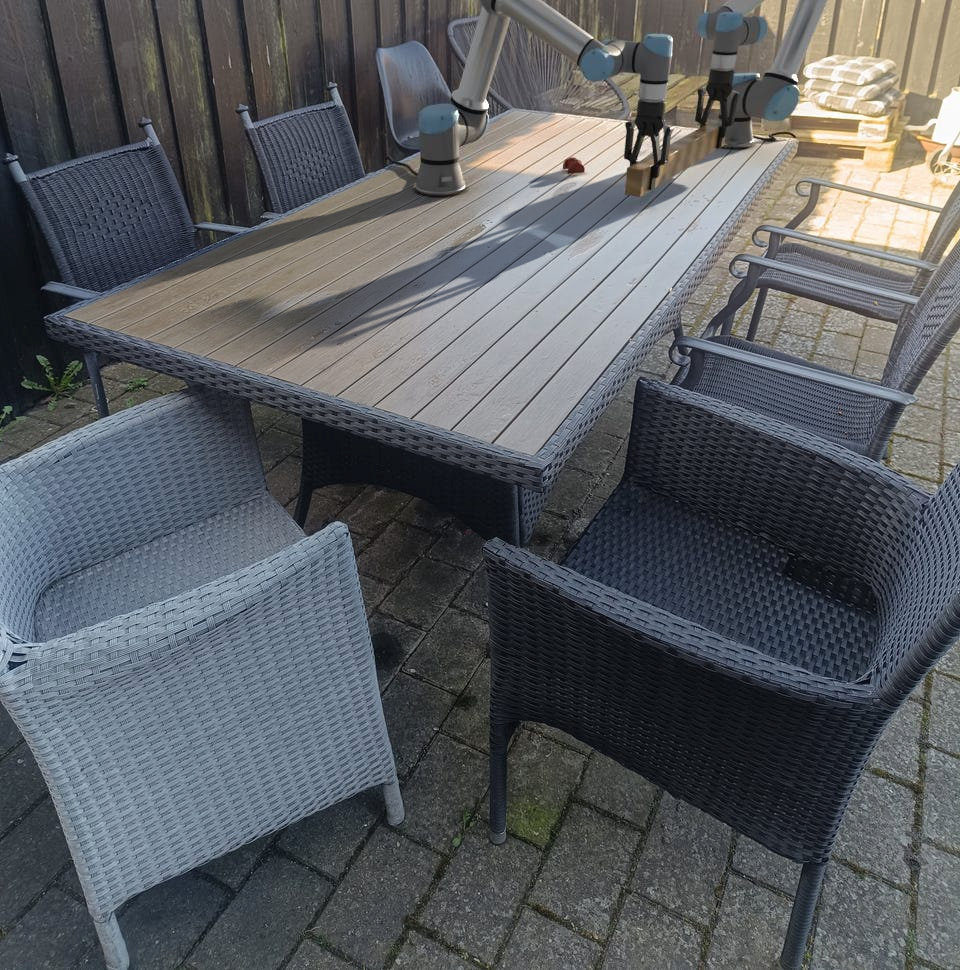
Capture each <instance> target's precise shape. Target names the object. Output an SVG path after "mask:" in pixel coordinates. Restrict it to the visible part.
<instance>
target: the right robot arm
mask: <svg viewBox="0 0 960 970" xmlns="http://www.w3.org/2000/svg"><path fill="white" fill-rule="evenodd" d="M765 1H766V0H727V1H726V2H724V4H722V5H721V6H720V7H719V8H718V9H716V10H715V11H714V12H713V11H706V12H703V13H701V14H700V16H699V18H698V19H697V23H696V32H697V35H698V37H700V38H703V39H706V40H709V41H710V40H711V41H712V40H713V49H712V53H711V58H710V59H711V60H710V69H709V73H708V79H707V84H706V86H705V87H699V88H698V89H697V90H696V91H697V97H698V98H697V103H696V110H695V117H694V122H696V123H699V128H701V127H703V126H705V125H706V124H707V122H708V118H709V115H710V114H711V110H712V107H713V105H714V103H715V102H718V103H719V110H718V117H717V121H722V126H721V127H719V133H718V140H717V146H716V148H717V150H719V149H721V148H722V149H723V148H724V149H730V150H731V149H732V150H739V149H740V150H741V149H748V148H751V147H753V145H754V140H755V139H756V140H759V141H764V142H775V141H777V137H775V136H779V135H789V136H791V137H793V139H797V136H796V134H794V133H793V132H790V131H777V132H774V133H769V134H768V138H767V137H761V136H757V135H754V134H753V123H752V122H753V118H756V119H762V120H765V121H766V120H767V121H768V122H783V121H785V120H786V119H788V118H789V117H790V116H791V115H792V114H793V113H794V111H795V110H796V108H797V106H798V104H799V101H800V94H801V93H800V89H799V88H798V85H799V80H798V77H797V75H798V73H799V70H800V68H801V66H802V63H803V61H804V59H805V56H806V53H807V52H808V49H809V47H810V44H811V42H812V39H813V36H814V34H815V32H816V29H817V27H818V24H819V22H820V20H821V17H822V15H823V12H824V10H825V8H826V5H827V2H828V0H798V2H797V4H796V7H795V9H794V11H793V14H792V17H791V20H790V22H789V23H788V27H787V29H786V30H785V31H786V32H785V33H784V36H783V38H782V41H781V44H780V46H779V48H778V50H777V54H776V56H775V59H774V61H773V64H772V66H771V68H770V69H768V70H766V71H765V72H764V74H763V77H762V79H761V75H760V73H758V72H741V73H735V70H734V69H735V68H736V64H737V57H738V50H739V46H740V47H741V46H747V45H754V44H757V43H761V42H762V41H763V40H764V39H765V37H766V35H767V32H768V24H767V21H766V20H765V18H763V17H762V16H755V15H753V16H749V15H750V14H751V13H752V12H753V11H754V10H756V9H757V8H758V7H759V6H760V5H762V4H763V3H764V2H765ZM706 93H707V95H708V98H707V102H706V106H705V108H704V104H705V103H704V102H705V95H706ZM703 109H704V111H703ZM725 136H726V138H725V144H724V146H722V147H721V145H722V139H723V138H724V137H725Z"/></svg>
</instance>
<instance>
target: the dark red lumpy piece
mask: <svg viewBox="0 0 960 970" xmlns="http://www.w3.org/2000/svg"><path fill="white" fill-rule="evenodd" d="M562 170H567V171H566V172H567V174H568V175H570V174H571V175H572V174H584V173H585V171H586V169H585V165H584V164H583V162H582V160H580V159H578V158H577V157H575V156H570V157H568V158H566V159H564V161H563V164H562Z"/></svg>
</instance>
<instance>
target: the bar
mask: <svg viewBox="0 0 960 970" xmlns="http://www.w3.org/2000/svg"><path fill="white" fill-rule="evenodd" d="M705 124H706V125H705V126H703V127H701V128H700V127H699V128H697V129H695V130H694V131H692V132H690V133H688V134H686V135H684V136H683V137H681V138H679V139H677V140H675V141H674V142H672V143H670V148H669V156H668V162H667V163H666V164H664V165H661V166H660V175H659V177H658V178H656V182H655V188H654V189H656V188H658V187H659V186H660V185H662V184H664V183H665V182H667V181H669V180H671V179H672V178H674V177H676V176H677V175H679V174H680V173H682V172H683V171H685V170H687V169H688V168H690V167H692V166H693V165H695V164H696V163H698V162H700V161H701V160H703V159H704V158H706V157H707V156H709V155H710V154H712V153H714V152H715V151H718V149H717V148H716V146H717V140H718V133H719V127H721V126H722V121H718V120H715V119H713V120H712V121H710V122H708V123H705ZM725 138H726V136H725V137H724V138H723V139H722V145H721V147H720V148H722V146H724V144H725ZM660 152H661V153H662V148H660ZM653 165H654V159H653V153H651V154H650V155H648V156H646V157H644V158H643V159H640V160H638V162H637V163H635V164H633V165H631V166H630V165H629V166H627V167H626V175H625V186H624V195H626V196H631V197H635V198H636V197H637V198H641V197H643V196H645V195H646V194H648V193H649V192H651V191H652V190H649V182H650V173H651V166H653Z"/></svg>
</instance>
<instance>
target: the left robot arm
mask: <svg viewBox="0 0 960 970" xmlns="http://www.w3.org/2000/svg"><path fill="white" fill-rule="evenodd" d="M479 2H480V4H481V9H480V13H479V17H478V21H477V23H476V26H475V30H474V33H473V37H472V41H471V44H470V48H469V52H468V55H467V58H466V61H465V64H464V69H463V72H462V76H461V79H460V82H459V86H458V88H457V89H455V90H453V91H452V93H451V95H450V97H449V98H450V99H449V103H436V104H430V105H428V106H425V107H424V108H422V109H421V110H420V112H419V114H418V126H417V127H418V134H419V135H418V136H419V138H418V139H419V157H420V158H419V159H420V161H419V162H420V164H419V168H418V172H417V171H416V170H414V169H413V168H412V167H411V166H410V164H407V163H405V162H401V161H397V160H394V159H393V158H392V157H391V156H390V155H387V156H386V157H385V160H386V161H389V162H390V163H392V164H394V165H396V166H401V167H404V168H405V167H406V168H407V169H408V170H409V171H410V173H412V175H414V176H416V180H415V192H417V193H418V194H420V195H424V196H430V197H450V196H455V195H459V194H461V193H463V192H464V191H466V181H465V179H464V176H463V172H462V169H461V165H460V148H462V147H464V146H466V145H470V144H472V143H474V142H476V141H478V140H479V139H480V138H482V137H483V136H484V135H485V134H486V132H487V131H488V128H489V124H490V115H489V114H488V112H489V111H488V109H489V103H488V101H487V95H488V93H489V89H490V86H491V83H492V81H493V80H492V79H493V77H494V74H495V71H496V67H497V63H498V60H499V57H500V54H501V51H502V48H503V45H504V42H505V38H506V35H507V32H508V29H509V25H510V22H511V20H513V21H514V22H516V23H517V24H519V26H521V27H522V28H524V29H525V30H527V31H529V32H530V33H531V34H532V35H534V36H535V37H536V38H538V39H540V41H542V42H544V43H545V44H546V45H548V46H549V47H551V49H553V50H555V51H556V52H557V53H559V54H560V55H562V56H563V57H565V58H566V59H568V61H570V62H572V63H573V64H574V65H576V66H577V67H578V68H580V72H581V73H582V75H583V77H584V78H585V79H586V80H587V81H589V82H593V83H598V82H603V81H606V80H607V79H609V78H611V77H614V76H616V75H619V74H622V73H624V74H625V73H627V74H636V75H638V74H639V76H640V77H639V85H638V100H637V107H636V117H635V118H634V119H633V120H630V119H629V120H628V121H626V122H625V123H624V127H625V130H626V131H625V141H624V150H623V159H624V160H627V161H629V167H630V166H631V165H633V164H635V163H637V162H639V160H638V157H639V155H640V152H641V149H642V145H643V142H644V140H645V137H649V138H650V142H651V149H652V154H653V159H654V165H653V166H651V173H650V182H649V190H651V191H653V190H654V189H656V188H655V182H656V178H658V177H659V175H660V166H661V165H664V164H666V163H667V162H668V156H669V148H670V144H671V139H672V138H671V137H672V134H673V132H674V130H675V127H674V126H673V125H669V124H667V123H666V120H665V115H666V108H667V101H666V99H667V97H668V88H669V79H670V70H671V64H672V57H673V40H674V39H673V37H672V36H671V35H670V34H667V33H647V34H646V35H645V36H644V38H643V41H630V40H620V39H616V38H613V39H604V40H602V42H601V41H600V40H598V39H596V38H595V37H594V36H593V35H591V34H590V33H588V32H587V31H586V30H584V29H583V28H582V27H580V26H578V25H577V24H576V23H574V22H573V21H571V20H570V19H568V18H567V17H566V16H564V15H563V14H561V13H560V12H559V11H557V10H556V9H555V8H553V7H552V6H551V5H549V4H548V3H546V2H545V1H543V0H479ZM635 128H636V129H637V131H638V132H637V135H636V138H635V139H636V140H635V141H634V135H635ZM662 130H663V131H662ZM660 131H662V132H663V137H662V145H661V143H660V137H661V136H660ZM633 144H634V145H633ZM661 149H662V153H661V152H660V150H661Z"/></svg>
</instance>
